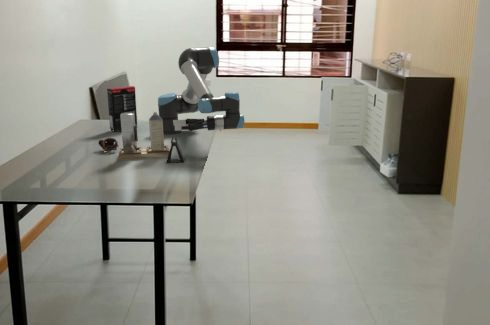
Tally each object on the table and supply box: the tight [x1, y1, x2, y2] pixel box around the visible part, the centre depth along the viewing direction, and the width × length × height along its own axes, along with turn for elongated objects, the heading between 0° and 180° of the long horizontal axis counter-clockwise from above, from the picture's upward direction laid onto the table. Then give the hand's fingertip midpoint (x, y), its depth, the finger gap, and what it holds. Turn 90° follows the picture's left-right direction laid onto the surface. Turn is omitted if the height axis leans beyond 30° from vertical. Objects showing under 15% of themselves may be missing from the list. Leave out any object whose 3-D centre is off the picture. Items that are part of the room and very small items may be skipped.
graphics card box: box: [106, 85, 138, 132], centre depth 334 cm, size 17×7×27 cm, turn 133°
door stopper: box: [165, 136, 186, 164], centre depth 259 cm, size 9×6×12 cm, turn 93°
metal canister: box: [120, 113, 139, 153], centre depth 268 cm, size 7×8×20 cm
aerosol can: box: [148, 111, 165, 151], centre depth 270 cm, size 7×7×20 cm
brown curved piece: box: [98, 137, 119, 153], centre depth 284 cm, size 12×10×8 cm
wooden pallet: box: [117, 144, 170, 161], centre depth 272 cm, size 11×26×4 cm, turn 101°
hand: (174, 125), depth 271 cm, fingers open, 13 cm apart
